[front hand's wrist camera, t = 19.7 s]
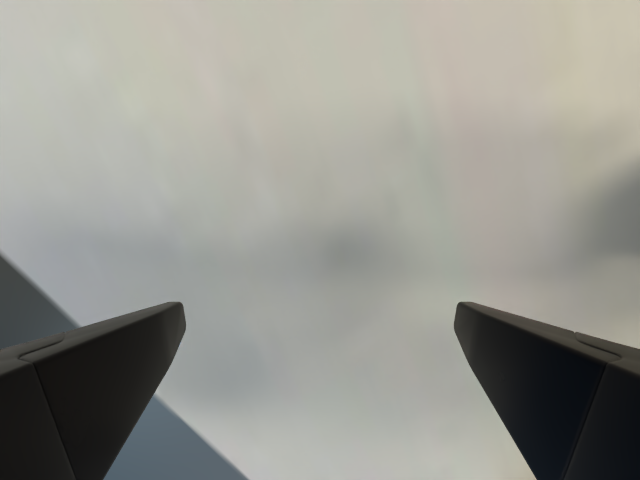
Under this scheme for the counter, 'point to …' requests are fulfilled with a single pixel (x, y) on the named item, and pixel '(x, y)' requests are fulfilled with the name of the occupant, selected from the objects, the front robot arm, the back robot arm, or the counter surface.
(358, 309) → the counter surface
